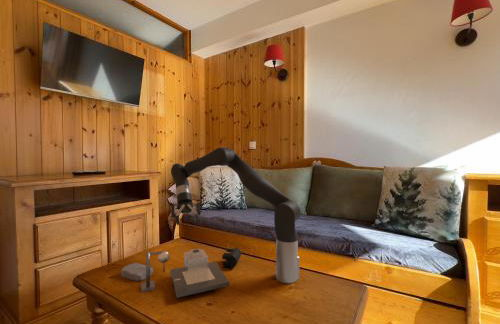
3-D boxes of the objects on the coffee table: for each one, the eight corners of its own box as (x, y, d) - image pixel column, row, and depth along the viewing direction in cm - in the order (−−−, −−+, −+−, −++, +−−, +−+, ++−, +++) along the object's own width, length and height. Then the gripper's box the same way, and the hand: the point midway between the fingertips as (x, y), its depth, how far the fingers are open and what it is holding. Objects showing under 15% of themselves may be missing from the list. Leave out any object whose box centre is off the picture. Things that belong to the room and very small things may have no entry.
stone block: (136, 271, 114) (117, 277, 105) (138, 261, 115) (120, 265, 106) (155, 277, 110) (138, 284, 101) (157, 266, 111) (140, 272, 101)
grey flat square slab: (214, 264, 114) (214, 261, 114) (229, 285, 96) (229, 281, 96) (170, 272, 106) (170, 269, 105) (176, 297, 87) (176, 293, 87)
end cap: (236, 270, 113) (236, 255, 113) (222, 268, 114) (222, 254, 114) (241, 260, 123) (241, 247, 123) (227, 259, 124) (227, 246, 124)
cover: (203, 264, 110) (203, 246, 110) (208, 273, 103) (208, 252, 102) (184, 268, 107) (184, 248, 106) (187, 277, 99) (187, 256, 99)
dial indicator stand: (168, 280, 103) (168, 247, 103) (170, 286, 98) (170, 251, 98) (141, 286, 98) (141, 251, 98) (141, 292, 94) (141, 256, 94)
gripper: (170, 192, 122) (173, 220, 113) (198, 190, 129) (203, 218, 119) (168, 200, 128) (171, 228, 118) (195, 198, 134) (200, 225, 124)
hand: (187, 223), depth 118 cm, fingers open, 8 cm apart
